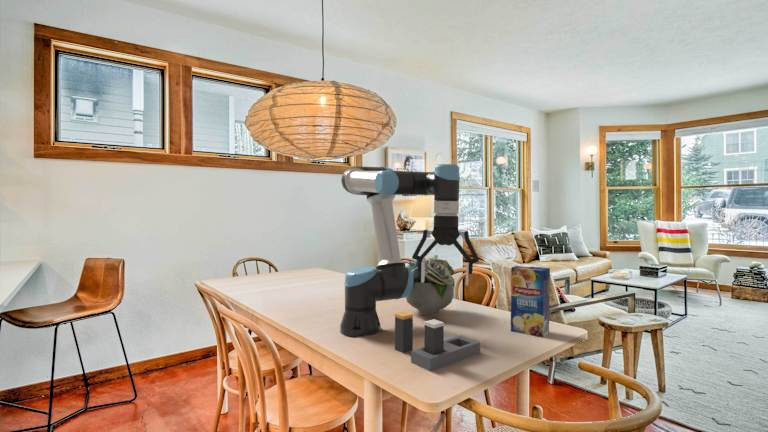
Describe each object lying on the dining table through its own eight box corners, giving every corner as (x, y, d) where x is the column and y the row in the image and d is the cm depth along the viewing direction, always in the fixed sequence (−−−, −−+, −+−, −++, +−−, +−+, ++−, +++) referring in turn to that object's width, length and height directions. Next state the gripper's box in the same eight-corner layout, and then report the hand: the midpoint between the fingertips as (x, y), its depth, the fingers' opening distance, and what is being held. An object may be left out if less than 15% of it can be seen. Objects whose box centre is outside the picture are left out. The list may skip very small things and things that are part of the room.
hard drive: (466, 337, 142) (438, 329, 151) (451, 343, 136) (423, 334, 145) (466, 342, 142) (438, 333, 151) (451, 348, 136) (423, 339, 145)
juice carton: (549, 332, 151) (550, 268, 150) (543, 337, 145) (544, 270, 144) (517, 326, 158) (517, 265, 158) (510, 331, 153) (511, 267, 152)
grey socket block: (411, 365, 120) (411, 350, 120) (460, 349, 134) (460, 335, 134) (430, 374, 114) (430, 358, 114) (480, 356, 128) (480, 342, 128)
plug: (394, 350, 131) (394, 313, 130) (404, 347, 133) (404, 311, 133) (403, 354, 128) (403, 316, 127) (412, 351, 130) (412, 314, 130)
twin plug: (424, 361, 121) (424, 321, 120) (433, 358, 123) (434, 319, 123) (433, 366, 118) (434, 325, 117) (443, 362, 120) (444, 322, 120)
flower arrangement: (440, 325, 159) (440, 263, 158) (388, 314, 174) (389, 258, 173) (468, 311, 179) (468, 256, 178) (419, 303, 194) (420, 252, 193)
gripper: (404, 214, 124) (403, 283, 125) (488, 216, 119) (486, 288, 120) (407, 213, 131) (406, 278, 133) (487, 215, 126) (485, 282, 127)
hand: (444, 283), depth 126 cm, fingers open, 13 cm apart
